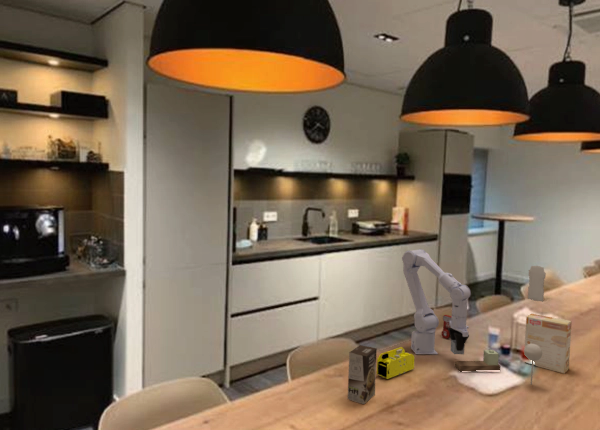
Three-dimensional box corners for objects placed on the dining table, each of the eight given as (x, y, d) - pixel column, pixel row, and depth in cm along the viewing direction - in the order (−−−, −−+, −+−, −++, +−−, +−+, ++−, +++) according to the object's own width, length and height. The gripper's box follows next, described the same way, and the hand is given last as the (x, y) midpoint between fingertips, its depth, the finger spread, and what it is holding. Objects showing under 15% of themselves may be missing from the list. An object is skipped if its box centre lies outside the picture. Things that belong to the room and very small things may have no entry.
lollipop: (533, 389, 162) (535, 348, 161) (518, 382, 167) (520, 342, 166) (544, 386, 165) (546, 345, 164) (529, 379, 170) (531, 340, 169)
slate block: (454, 354, 184) (455, 341, 183) (450, 350, 188) (451, 338, 187) (464, 354, 184) (464, 341, 183) (460, 350, 188) (460, 338, 187)
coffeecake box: (569, 368, 181) (572, 320, 180) (564, 374, 176) (567, 324, 175) (528, 358, 192) (531, 312, 190) (523, 363, 186) (526, 316, 185)
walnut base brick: (459, 372, 176) (460, 365, 176) (454, 366, 181) (454, 360, 181) (500, 372, 177) (500, 365, 176) (494, 366, 182) (494, 360, 181)
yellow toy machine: (402, 366, 181) (403, 345, 180) (414, 370, 176) (415, 349, 176) (375, 376, 171) (376, 354, 170) (387, 381, 166) (388, 359, 166)
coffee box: (364, 405, 148) (366, 356, 147) (346, 399, 151) (348, 351, 150) (375, 394, 155) (377, 347, 154) (358, 389, 159) (360, 344, 158)
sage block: (488, 365, 177) (488, 352, 176) (483, 361, 181) (483, 348, 180) (498, 365, 177) (498, 352, 177) (493, 361, 181) (493, 348, 181)
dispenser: (525, 298, 297) (527, 264, 295) (528, 297, 299) (530, 264, 298) (542, 301, 289) (544, 267, 287) (545, 301, 291) (547, 266, 290)
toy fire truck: (461, 344, 207) (462, 321, 207) (438, 336, 217) (439, 315, 216) (470, 341, 212) (471, 319, 211) (446, 334, 221) (447, 312, 221)
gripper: (476, 321, 178) (474, 355, 179) (461, 310, 192) (459, 342, 193) (459, 320, 177) (457, 355, 178) (445, 310, 192) (443, 341, 193)
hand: (457, 348), depth 186 cm, fingers closed on slate block, 4 cm apart
